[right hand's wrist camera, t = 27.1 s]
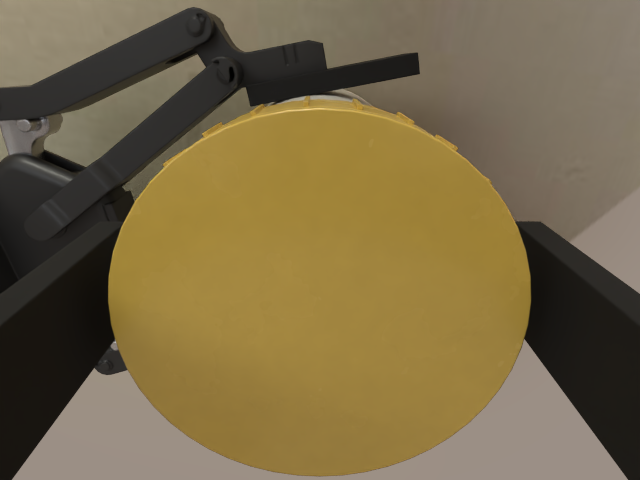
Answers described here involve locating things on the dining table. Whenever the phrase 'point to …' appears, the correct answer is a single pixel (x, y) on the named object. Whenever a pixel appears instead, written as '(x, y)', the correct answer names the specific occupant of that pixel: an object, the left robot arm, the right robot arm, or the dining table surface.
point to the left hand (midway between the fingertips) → (422, 177)
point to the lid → (319, 289)
